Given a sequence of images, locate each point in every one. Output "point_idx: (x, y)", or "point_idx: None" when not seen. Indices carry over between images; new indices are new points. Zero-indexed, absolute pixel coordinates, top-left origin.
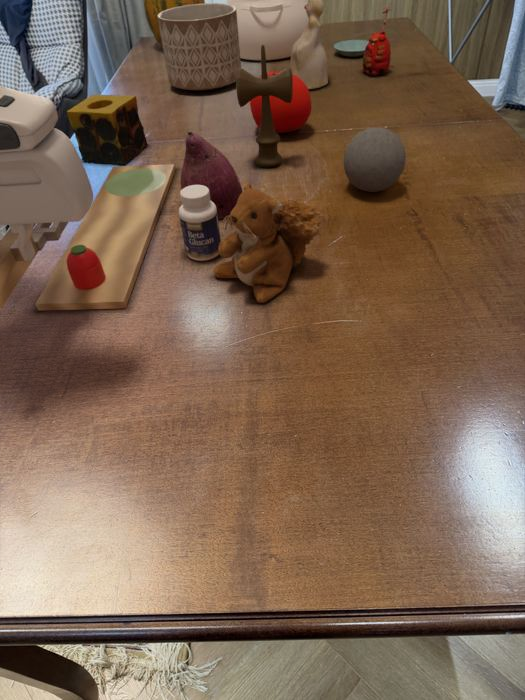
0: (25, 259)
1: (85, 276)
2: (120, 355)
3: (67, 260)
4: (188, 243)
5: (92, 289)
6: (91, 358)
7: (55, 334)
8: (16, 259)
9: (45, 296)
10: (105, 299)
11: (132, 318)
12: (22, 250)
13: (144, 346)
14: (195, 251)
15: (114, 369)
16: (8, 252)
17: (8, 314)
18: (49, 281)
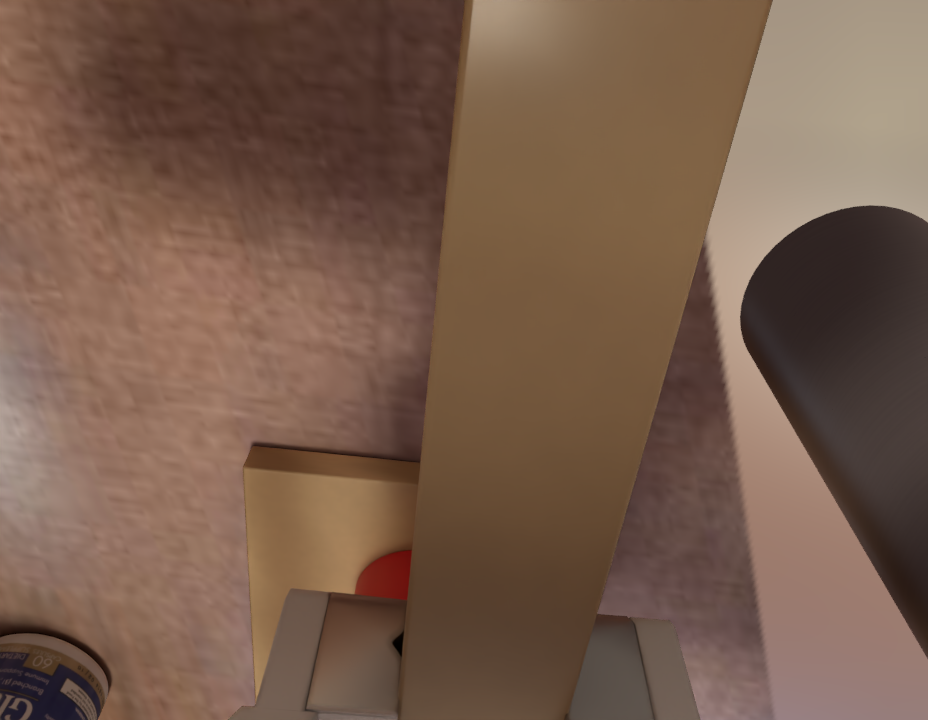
0: (312, 600)
1: (396, 598)
2: (189, 180)
3: None
4: (42, 705)
5: (393, 547)
6: (316, 180)
7: None
8: (390, 609)
9: None
10: (322, 488)
11: (208, 389)
12: (277, 678)
13: (100, 221)
14: (31, 670)
15: (188, 93)
16: (403, 671)
17: (728, 479)
18: None
